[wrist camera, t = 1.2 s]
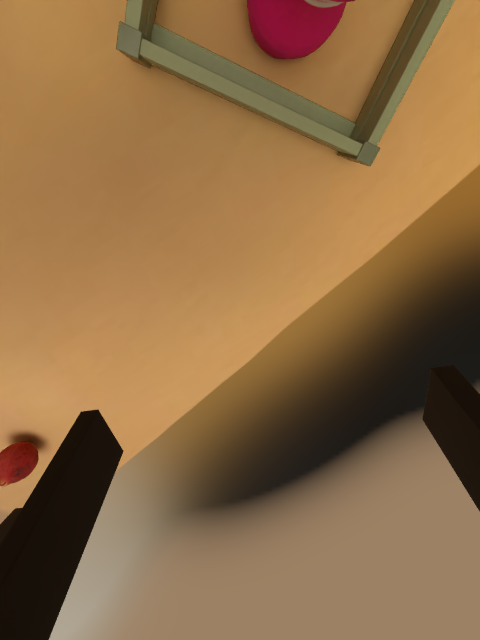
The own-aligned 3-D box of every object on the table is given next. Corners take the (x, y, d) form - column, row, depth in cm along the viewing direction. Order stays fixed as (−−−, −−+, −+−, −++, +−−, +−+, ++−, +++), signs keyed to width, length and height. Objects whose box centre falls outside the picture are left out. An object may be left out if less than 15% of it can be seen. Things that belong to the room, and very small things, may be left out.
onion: (35, 429, 52) (8, 474, 45) (52, 448, 55) (30, 493, 49) (3, 434, 52) (-28, 480, 46) (22, 453, 55) (-4, 499, 49)
